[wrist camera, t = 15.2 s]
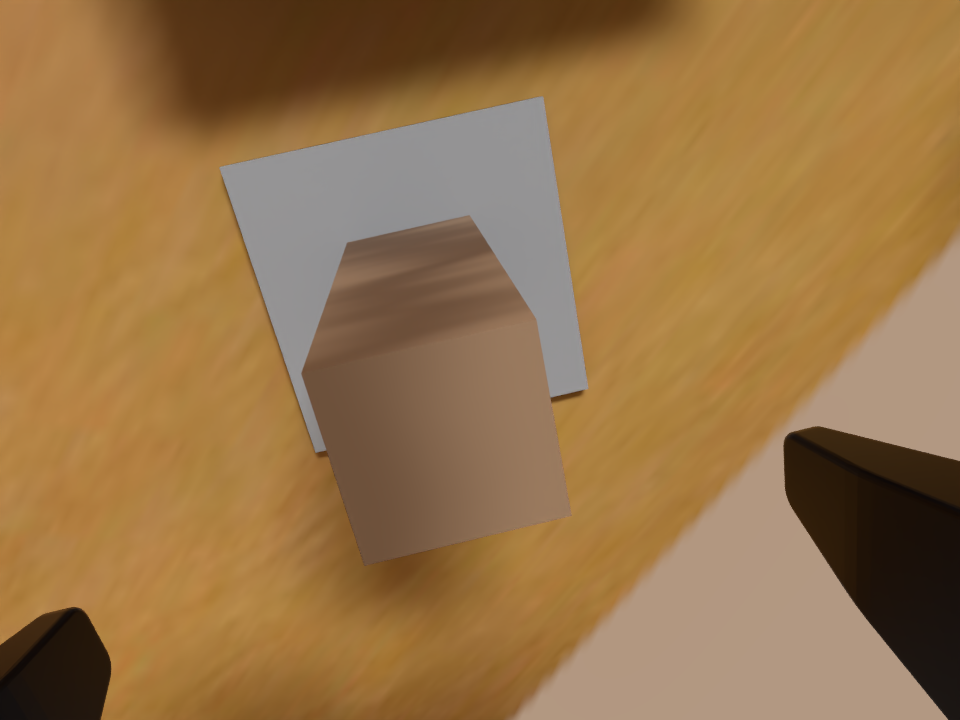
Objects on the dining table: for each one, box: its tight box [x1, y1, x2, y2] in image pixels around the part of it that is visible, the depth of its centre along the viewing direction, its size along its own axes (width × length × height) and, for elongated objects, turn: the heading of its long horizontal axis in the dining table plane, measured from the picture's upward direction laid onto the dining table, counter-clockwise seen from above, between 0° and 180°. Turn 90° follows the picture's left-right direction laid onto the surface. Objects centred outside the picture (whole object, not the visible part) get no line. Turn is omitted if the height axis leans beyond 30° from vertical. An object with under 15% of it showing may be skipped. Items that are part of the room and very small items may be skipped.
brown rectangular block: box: [301, 215, 572, 566], centre depth 15 cm, size 4×4×10 cm
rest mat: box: [220, 97, 588, 453], centre depth 20 cm, size 9×9×1 cm
